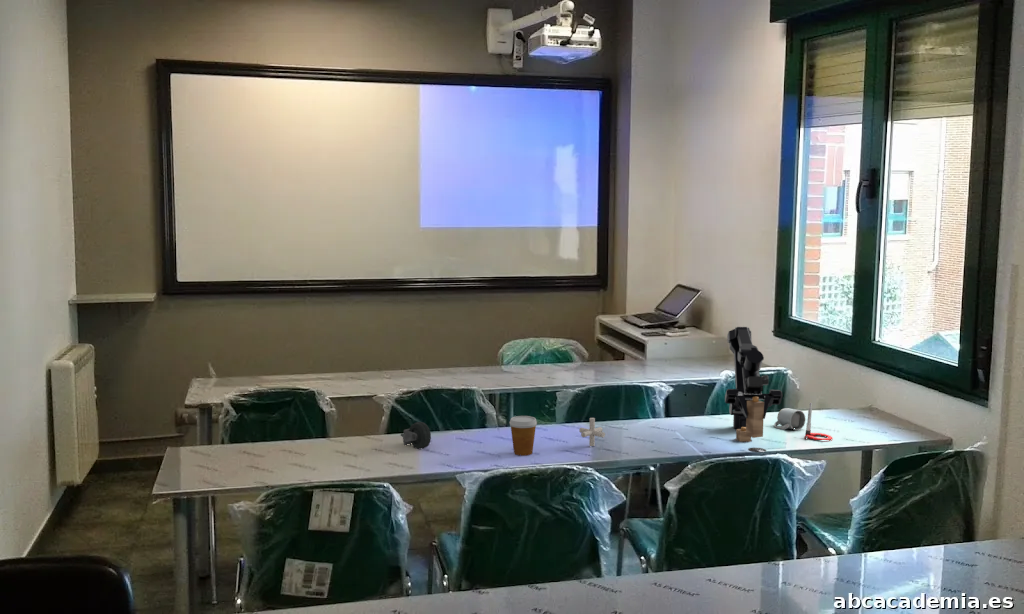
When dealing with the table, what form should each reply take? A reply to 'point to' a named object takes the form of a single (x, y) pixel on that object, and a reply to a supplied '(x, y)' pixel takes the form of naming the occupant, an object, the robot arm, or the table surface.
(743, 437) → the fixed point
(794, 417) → the ceramic mug
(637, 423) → the table surface
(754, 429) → the point post
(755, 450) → the plate
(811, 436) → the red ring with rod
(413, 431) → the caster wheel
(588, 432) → the pipe connector
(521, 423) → the disposable coffee cup
